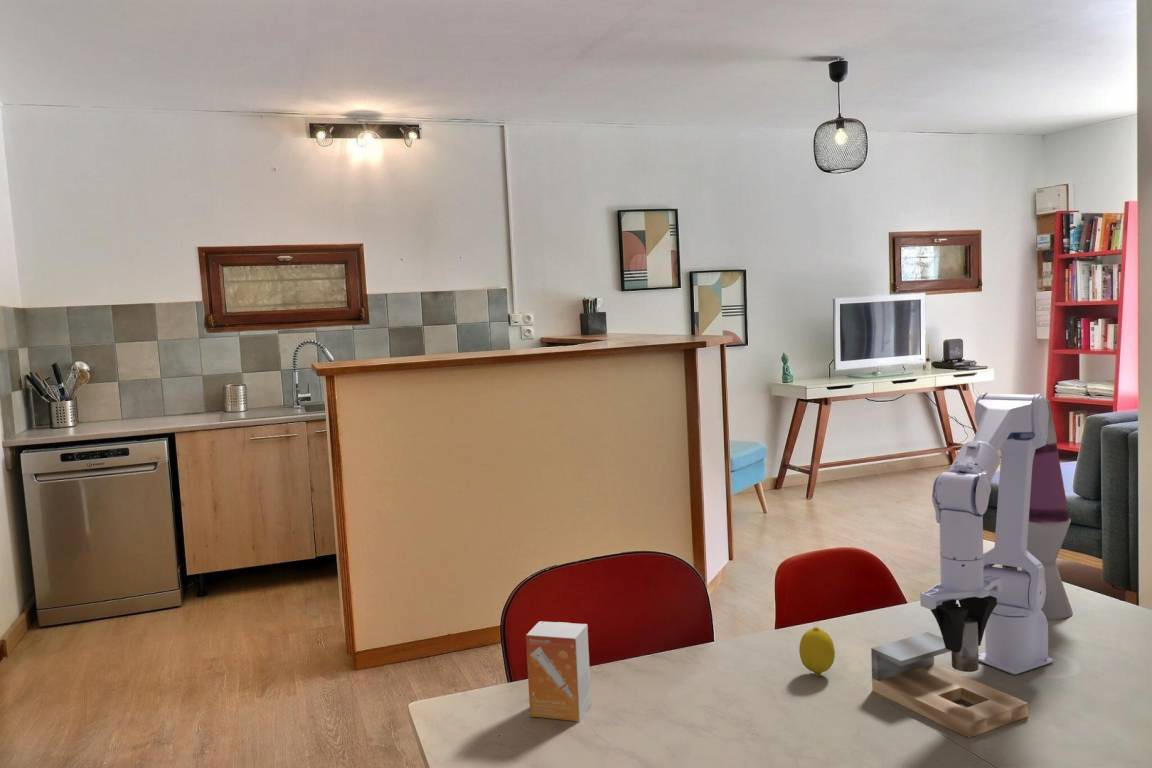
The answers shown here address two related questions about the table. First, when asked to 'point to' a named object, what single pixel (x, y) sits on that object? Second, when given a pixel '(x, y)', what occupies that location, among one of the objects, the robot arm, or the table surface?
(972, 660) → the peg
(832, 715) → the table surface
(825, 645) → the lemon
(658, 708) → the table surface
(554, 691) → the small box
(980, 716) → the socket board
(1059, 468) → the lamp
